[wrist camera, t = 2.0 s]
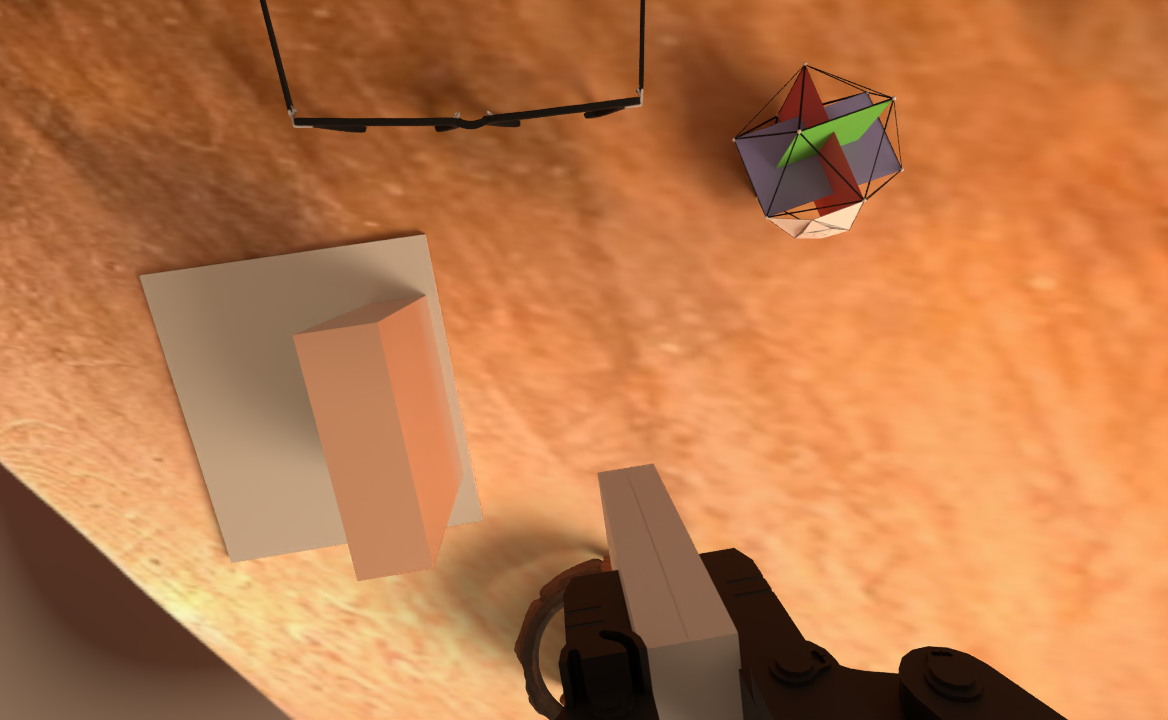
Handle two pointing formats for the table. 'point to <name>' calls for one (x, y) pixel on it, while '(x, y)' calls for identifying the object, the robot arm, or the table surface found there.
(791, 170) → the geometric puzzle
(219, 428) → the mat
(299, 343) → the block
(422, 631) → the table surface
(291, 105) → the eyeglasses
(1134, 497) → the table surface
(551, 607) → the brown curved band frame
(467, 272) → the table surface
